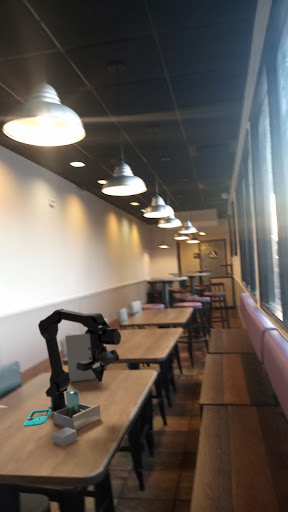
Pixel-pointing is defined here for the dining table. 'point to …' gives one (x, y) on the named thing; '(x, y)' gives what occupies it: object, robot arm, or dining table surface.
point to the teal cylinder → (72, 403)
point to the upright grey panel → (78, 356)
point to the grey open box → (66, 420)
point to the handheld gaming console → (37, 418)
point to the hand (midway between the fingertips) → (100, 381)
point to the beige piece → (85, 417)
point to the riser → (64, 436)
